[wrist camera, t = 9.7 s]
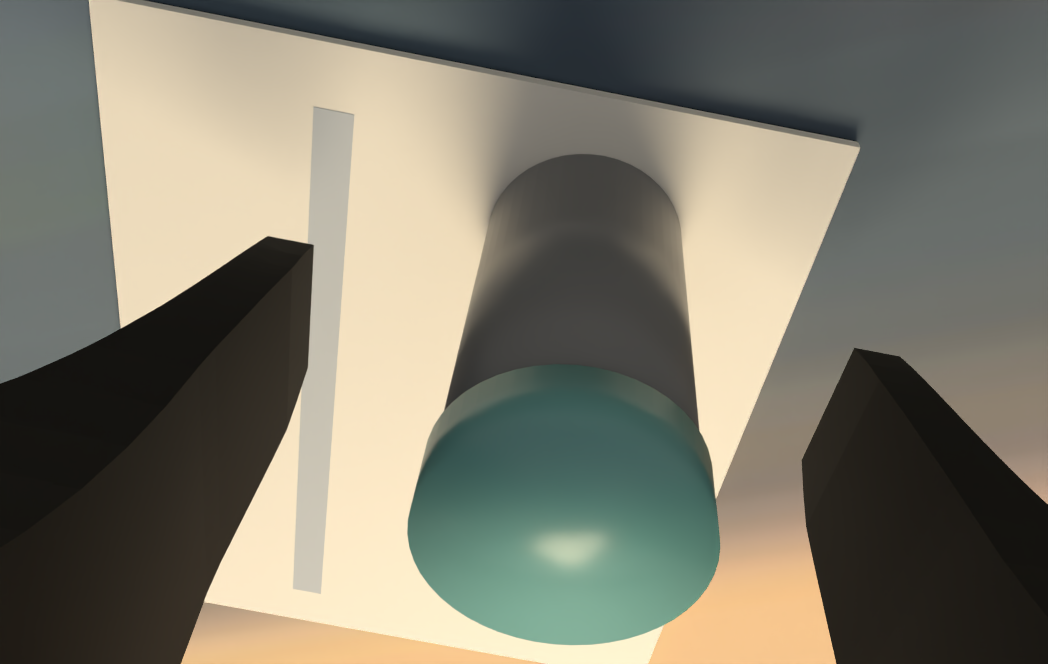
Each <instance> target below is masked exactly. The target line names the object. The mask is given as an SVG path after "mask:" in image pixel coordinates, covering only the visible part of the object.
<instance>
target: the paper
mask: <svg viewBox="0 0 1048 664" xmlns="http://www.w3.org/2000/svg"><path fill="white" fill-rule="evenodd" d="M89 8H90V18H91V28H92V38H93V49H94V59H95V69H96V79H97V90H98V100H99V110H100V120H101V131H102V141H103V151H104V161H105V172H106V182H107V192H108V202H109V213H110V223H111V233H112V243H113V253H114V264H115V274H116V284H117V294H118V305H119V315H120V325H121V328H123V327H124V326H126V325H128V324H130V323H131V322H133V321H135V320H137V319H139V318H140V317H142V316H144V315H146V314H147V313H149V312H151V311H153V310H154V309H156V308H158V307H160V306H161V305H163V304H165V303H166V302H168V301H169V300H171V299H172V298H174V297H176V296H177V295H179V294H180V293H182V292H183V291H185V290H187V289H188V288H190V287H191V286H193V285H194V284H196V283H197V282H199V281H200V280H202V279H203V278H205V277H206V276H208V275H209V274H211V273H212V272H214V271H215V270H217V269H218V268H220V267H221V266H223V265H224V264H226V263H227V262H229V261H230V260H232V259H233V258H235V257H236V256H238V255H239V254H241V253H242V252H244V251H245V250H247V249H248V248H250V247H251V246H253V245H254V244H256V243H257V242H259V241H260V240H262V239H264V238H265V237H267V236H271V237H276V238H281V239H286V240H291V241H297V242H302V243H307V244H312V245H314V253H313V274H312V295H311V315H310V336H309V357H308V369H307V372H306V375H305V378H304V381H303V384H302V387H301V390H300V393H299V396H298V399H297V402H296V405H295V408H294V411H293V414H292V417H291V420H290V422H289V425H288V428H287V431H286V433H285V435H284V437H283V439H282V441H281V443H280V445H279V447H278V449H277V451H276V453H275V455H274V457H273V459H272V461H271V463H270V465H269V467H268V469H267V471H266V473H265V475H264V478H263V480H262V481H261V483H260V485H259V487H258V489H257V491H256V493H255V495H254V497H253V499H252V501H251V503H250V505H249V507H248V509H247V511H246V513H245V515H244V517H243V519H242V521H241V523H240V525H239V527H238V529H237V531H236V533H235V535H234V537H233V539H232V541H231V543H230V545H229V547H228V549H227V551H226V553H225V555H224V557H223V559H222V561H221V563H220V565H219V567H218V570H217V572H216V574H215V576H214V579H213V581H212V583H211V585H210V588H209V590H208V592H207V595H206V597H205V600H204V602H208V603H213V604H219V605H224V606H230V607H236V608H241V609H247V610H252V611H258V612H263V613H269V614H274V615H280V616H285V617H291V618H296V619H302V620H307V621H313V622H318V623H324V624H329V625H335V626H340V627H346V628H352V629H357V630H363V631H368V632H374V633H379V634H385V635H390V636H396V637H401V638H407V639H412V640H418V641H423V642H429V643H434V644H440V645H445V646H451V647H456V648H462V649H467V650H473V651H479V652H484V653H490V654H495V655H501V656H506V657H512V658H517V659H523V660H528V661H534V662H539V663H545V664H648V662H649V660H650V658H651V655H652V653H653V650H654V648H655V645H656V643H657V641H658V638H659V636H660V633H661V631H662V628H663V626H664V625H663V626H661V627H659V628H657V629H654V630H652V631H650V632H647V633H645V634H642V635H639V636H635V637H632V638H629V639H625V640H620V641H615V642H610V643H603V644H594V645H556V644H547V643H540V642H533V641H529V640H524V639H520V638H516V637H513V636H509V635H506V634H503V633H500V632H497V631H495V630H492V629H490V628H488V627H485V626H483V625H481V624H479V623H477V622H475V621H473V620H471V619H469V618H467V617H466V616H464V615H463V614H461V613H460V612H458V611H457V610H455V609H454V608H452V607H451V606H450V605H449V604H448V603H446V602H445V601H444V600H443V599H441V598H440V597H439V596H438V595H437V593H436V592H435V591H434V590H433V589H432V588H431V587H430V586H429V585H428V583H427V582H426V581H425V579H424V578H423V577H422V575H421V574H420V572H419V570H418V568H417V566H416V564H415V562H414V560H413V557H412V554H411V551H410V548H409V542H408V535H407V527H408V517H409V512H410V508H411V504H412V500H413V496H414V492H415V488H416V484H417V480H418V476H419V472H420V468H421V464H422V460H423V456H424V452H425V448H426V444H427V440H428V438H429V435H430V433H431V431H432V428H433V426H434V425H435V423H436V422H437V420H438V419H439V417H440V416H441V414H442V413H443V412H444V408H445V404H446V400H447V396H448V392H449V388H450V383H451V379H452V375H453V371H454V367H455V363H456V358H457V354H458V350H459V346H460V342H461V338H462V333H463V329H464V325H465V321H466V317H467V313H468V308H469V304H470V300H471V296H472V292H473V287H474V283H475V279H476V275H477V271H478V267H479V262H480V258H481V254H482V250H483V246H484V242H485V237H486V233H487V229H488V225H489V221H490V217H491V213H492V211H493V208H494V206H495V204H496V202H497V200H498V199H499V197H500V195H501V194H502V192H503V191H504V190H505V189H506V187H507V186H508V185H509V184H510V183H511V182H512V181H513V180H514V179H515V178H516V177H517V176H519V175H520V174H522V173H523V172H524V171H526V170H527V169H529V168H531V167H533V166H535V165H537V164H538V163H541V162H543V161H546V160H549V159H552V158H556V157H560V156H564V155H573V154H594V155H601V156H607V157H611V158H614V159H618V160H620V161H623V162H626V163H628V164H630V165H632V166H634V167H636V168H638V169H639V170H641V171H643V172H644V173H645V174H647V175H648V176H649V177H651V178H652V179H653V180H654V181H655V182H656V183H657V184H658V185H659V186H660V187H661V188H662V189H663V191H664V192H665V193H666V194H667V196H668V197H669V199H670V201H671V202H672V204H673V206H674V208H675V211H676V213H677V216H678V219H679V223H680V227H681V237H682V248H683V258H684V269H685V280H686V291H687V301H688V312H689V323H690V334H691V345H692V355H693V366H694V377H695V388H696V398H697V409H698V420H699V431H700V433H701V434H702V436H703V438H704V441H705V443H706V445H707V447H708V450H709V454H710V458H711V462H712V468H713V478H714V488H715V497H717V495H718V492H719V490H720V488H721V485H722V483H723V480H724V478H725V476H726V473H727V471H728V468H729V466H730V463H731V461H732V459H733V456H734V454H735V451H736V449H737V446H738V444H739V442H740V439H741V437H742V434H743V432H744V429H745V427H746V425H747V422H748V420H749V417H750V415H751V412H752V410H753V408H754V405H755V403H756V400H757V398H758V395H759V393H760V391H761V388H762V386H763V383H764V381H765V378H766V376H767V374H768V371H769V369H770V366H771V364H772V361H773V359H774V357H775V354H776V352H777V349H778V347H779V344H780V342H781V340H782V337H783V335H784V332H785V330H786V327H787V325H788V323H789V320H790V318H791V315H792V313H793V310H794V308H795V306H796V303H797V301H798V298H799V296H800V293H801V291H802V289H803V286H804V284H805V281H806V279H807V277H808V274H809V272H810V269H811V267H812V264H813V262H814V260H815V257H816V255H817V252H818V250H819V247H820V245H821V243H822V240H823V238H824V235H825V233H826V230H827V228H828V226H829V223H830V221H831V218H832V216H833V213H834V211H835V209H836V206H837V204H838V201H839V199H840V196H841V194H842V192H843V189H844V187H845V184H846V182H847V179H848V177H849V175H850V172H851V170H852V167H853V165H854V162H855V160H856V158H857V155H858V153H859V150H860V146H859V143H858V142H856V141H851V140H846V139H841V138H836V137H831V136H826V135H820V134H815V133H810V132H805V131H800V130H795V129H790V128H785V127H780V126H775V125H770V124H765V123H760V122H755V121H750V120H745V119H740V118H735V117H730V116H725V115H720V114H715V113H710V112H705V111H700V110H694V109H689V108H684V107H679V106H674V105H669V104H664V103H659V102H654V101H649V100H644V99H639V98H634V97H629V96H624V95H619V94H614V93H609V92H604V91H599V90H594V89H589V88H584V87H579V86H574V85H569V84H563V83H558V82H553V81H548V80H543V79H538V78H533V77H528V76H523V75H518V74H513V73H508V72H503V71H498V70H493V69H488V68H483V67H478V66H473V65H468V64H463V63H458V62H453V61H448V60H443V59H437V58H432V57H427V56H422V55H417V54H412V53H407V52H402V51H397V50H392V49H387V48H382V47H377V46H372V45H367V44H362V43H357V42H352V41H347V40H342V39H337V38H332V37H327V36H322V35H317V34H312V33H306V32H301V31H296V30H291V29H286V28H281V27H276V26H271V25H266V24H261V23H256V22H251V21H246V20H241V19H236V18H231V17H226V16H221V15H216V14H211V13H206V12H201V11H196V10H191V9H186V8H180V7H175V6H170V5H165V4H160V3H155V2H150V1H145V0H89Z"/></svg>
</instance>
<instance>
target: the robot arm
mask: <svg viewBox="0 0 1048 664" xmlns="http://www.w3.org/2000/svg"><path fill="white" fill-rule="evenodd" d="M313 253H314V245H312V244H307V243H302V242H297V241H291V240H286V239H281V238H276V237H271V236H267V237H265V238H264V239H262V240H260V241H259V242H257V243H256V244H254V245H253V246H251V247H250V248H248V249H247V250H245V251H244V252H242V253H241V254H239V255H238V256H236V257H235V258H233V259H232V260H230V261H229V262H227V263H226V264H224V265H223V266H221V267H220V268H218V269H217V270H215V271H214V272H212V273H211V274H209V275H208V276H206V277H205V278H203V279H202V280H200V281H199V282H197V283H196V284H194V285H193V286H191V287H190V288H188V289H187V290H185V291H183V292H182V293H180V294H179V295H177V296H176V297H174V298H172V299H171V300H169V301H168V302H166V303H165V304H163V305H161V306H160V307H158V308H156V309H154V310H153V311H151V312H149V313H147V314H146V315H144V316H142V317H140V318H139V319H137V320H135V321H133V322H131V323H130V324H128V325H126V326H124V327H123V328H121V329H119V330H117V331H116V332H114V333H112V334H110V335H108V336H107V337H105V338H103V339H101V340H99V341H97V342H95V343H93V344H91V345H89V346H87V347H85V348H83V349H81V350H79V351H77V352H75V353H73V354H71V355H68V356H66V357H64V358H62V359H59V360H57V361H55V362H53V363H50V364H48V365H46V366H44V367H41V368H39V369H37V370H35V371H32V372H30V373H27V374H25V375H22V376H20V377H18V378H15V379H12V380H9V381H7V382H4V383H1V384H0V664H181V662H182V659H183V656H184V653H185V651H186V648H187V645H188V643H189V640H190V637H191V635H192V632H193V629H194V627H195V624H196V621H197V619H198V616H199V613H200V611H201V608H202V605H203V603H204V600H205V597H206V595H207V592H208V590H209V588H210V585H211V583H212V581H213V579H214V576H215V574H216V572H217V570H218V567H219V565H220V563H221V561H222V559H223V557H224V555H225V553H226V551H227V549H228V547H229V545H230V543H231V541H232V539H233V537H234V535H235V533H236V531H237V529H238V527H239V525H240V523H241V521H242V519H243V517H244V515H245V513H246V511H247V509H248V507H249V505H250V503H251V501H252V499H253V497H254V495H255V493H256V491H257V489H258V487H259V485H260V483H261V481H262V480H263V478H264V475H265V473H266V471H267V469H268V467H269V465H270V463H271V461H272V459H273V457H274V455H275V453H276V451H277V449H278V447H279V445H280V443H281V441H282V439H283V437H284V435H285V433H286V431H287V428H288V425H289V422H290V420H291V417H292V414H293V411H294V408H295V405H296V402H297V399H298V396H299V393H300V390H301V387H302V384H303V381H304V378H305V375H306V372H307V369H308V357H309V336H310V315H311V295H312V274H313ZM802 473H803V492H804V505H805V517H806V527H807V532H808V537H809V542H810V547H811V552H812V556H813V561H814V566H815V570H816V575H817V579H818V584H819V588H820V593H821V597H822V602H823V606H824V610H825V615H826V619H827V624H828V628H829V633H830V637H831V641H832V646H833V650H834V655H835V659H836V664H1048V504H1047V503H1045V502H1044V501H1043V500H1042V499H1041V498H1040V497H1039V496H1038V495H1037V494H1036V493H1035V492H1034V491H1032V490H1031V489H1030V488H1029V487H1028V486H1027V485H1026V484H1025V483H1024V482H1023V481H1022V480H1021V479H1020V478H1019V477H1018V476H1017V475H1016V474H1015V473H1014V472H1013V471H1012V470H1011V469H1010V468H1009V467H1008V466H1007V465H1006V464H1005V463H1004V462H1003V461H1002V460H1001V459H1000V458H999V457H998V456H997V455H996V454H995V453H994V452H993V451H992V450H991V449H990V448H989V447H988V446H987V445H986V444H985V443H984V442H983V441H982V440H981V439H980V438H979V436H978V435H977V434H976V433H975V432H974V431H973V430H972V429H971V428H970V427H969V426H968V425H967V424H966V423H965V422H964V421H963V420H962V419H961V418H960V417H959V416H958V414H957V413H956V412H955V411H954V410H953V409H952V408H951V407H950V406H949V405H948V404H947V403H946V402H945V401H944V400H943V399H942V398H941V397H940V396H939V394H938V393H937V392H936V391H935V390H934V389H933V388H932V387H931V386H930V385H929V384H928V383H927V382H926V381H925V380H924V379H923V378H922V377H921V376H920V375H919V374H918V373H917V372H916V371H915V370H914V369H913V368H912V367H911V366H910V365H908V364H907V363H906V362H905V361H904V360H903V359H902V358H901V357H899V356H894V355H889V354H883V353H878V352H873V351H868V350H862V349H857V348H854V350H853V352H852V354H851V356H850V359H849V361H848V363H847V365H846V367H845V369H844V371H843V373H842V376H841V378H840V380H839V382H838V384H837V386H836V388H835V390H834V393H833V395H832V397H831V399H830V401H829V403H828V405H827V408H826V410H825V412H824V414H823V416H822V418H821V420H820V422H819V425H818V427H817V429H816V431H815V433H814V435H813V437H812V440H811V442H810V444H809V446H808V448H807V450H806V452H805V454H804V457H803V459H802Z"/></svg>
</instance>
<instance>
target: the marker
mask: <svg viewBox="0 0 1048 664" xmlns="http://www.w3.org/2000/svg"><path fill="white" fill-rule="evenodd" d="M407 535H408V542H409V548H410V551H411V554H412V557H413V560H414V562H415V564H416V566H417V568H418V570H419V572H420V574H421V575H422V577H423V578H424V579H425V581H426V582H427V583H428V585H429V586H430V587H431V588H432V589H433V590H434V591H435V592H436V593H437V595H438V596H439V597H440V598H441V599H443V600H444V601H445V602H446V603H448V604H449V605H450V606H451V607H452V608H454V609H455V610H457V611H458V612H460V613H461V614H463V615H464V616H466V617H467V618H469V619H471V620H473V621H475V622H477V623H479V624H481V625H483V626H485V627H488V628H490V629H492V630H495V631H497V632H500V633H503V634H506V635H509V636H513V637H516V638H520V639H524V640H529V641H533V642H540V643H547V644H556V645H594V644H603V643H610V642H615V641H620V640H625V639H629V638H632V637H635V636H639V635H642V634H645V633H647V632H650V631H652V630H654V629H657V628H659V627H661V626H663V625H665V624H666V623H668V622H670V621H672V620H674V619H675V618H676V617H678V616H679V615H681V614H682V613H683V612H685V611H686V610H687V609H688V608H689V607H691V606H692V605H693V604H694V603H695V602H696V601H697V600H698V599H699V597H700V596H701V595H702V594H703V592H704V591H705V590H706V589H707V587H708V585H709V583H710V581H711V580H712V578H713V576H714V573H715V570H716V567H717V564H718V561H719V553H720V537H719V526H718V516H717V507H716V497H715V488H714V478H713V468H712V462H711V458H710V454H709V450H708V447H707V445H706V443H705V441H704V438H703V436H702V434H701V433H700V431H699V420H698V409H697V398H696V388H695V377H694V366H693V355H692V345H691V334H690V323H689V312H688V301H687V291H686V280H685V269H684V258H683V248H682V237H681V227H680V223H679V219H678V216H677V213H676V211H675V208H674V206H673V204H672V202H671V201H670V199H669V197H668V196H667V194H666V193H665V192H664V191H663V189H662V188H661V187H660V186H659V185H658V184H657V183H656V182H655V181H654V180H653V179H652V178H651V177H649V176H648V175H647V174H645V173H644V172H643V171H641V170H639V169H638V168H636V167H634V166H632V165H630V164H628V163H626V162H623V161H620V160H618V159H614V158H611V157H607V156H601V155H594V154H573V155H564V156H560V157H556V158H552V159H549V160H546V161H543V162H541V163H538V164H537V165H535V166H533V167H531V168H529V169H527V170H526V171H524V172H523V173H522V174H520V175H519V176H517V177H516V178H515V179H514V180H513V181H512V182H511V183H510V184H509V185H508V186H507V187H506V189H505V190H504V191H503V192H502V194H501V195H500V197H499V199H498V200H497V202H496V204H495V206H494V208H493V211H492V213H491V217H490V221H489V225H488V229H487V233H486V237H485V242H484V246H483V250H482V254H481V258H480V262H479V267H478V271H477V275H476V279H475V283H474V287H473V292H472V296H471V300H470V304H469V308H468V313H467V317H466V321H465V325H464V329H463V333H462V338H461V342H460V346H459V350H458V354H457V358H456V363H455V367H454V371H453V375H452V379H451V383H450V388H449V392H448V396H447V400H446V404H445V408H444V412H443V413H442V414H441V416H440V417H439V419H438V420H437V422H436V423H435V425H434V426H433V428H432V431H431V433H430V435H429V438H428V440H427V444H426V448H425V452H424V456H423V460H422V464H421V468H420V472H419V476H418V480H417V484H416V488H415V492H414V496H413V500H412V504H411V508H410V512H409V517H408V527H407Z"/></svg>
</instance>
